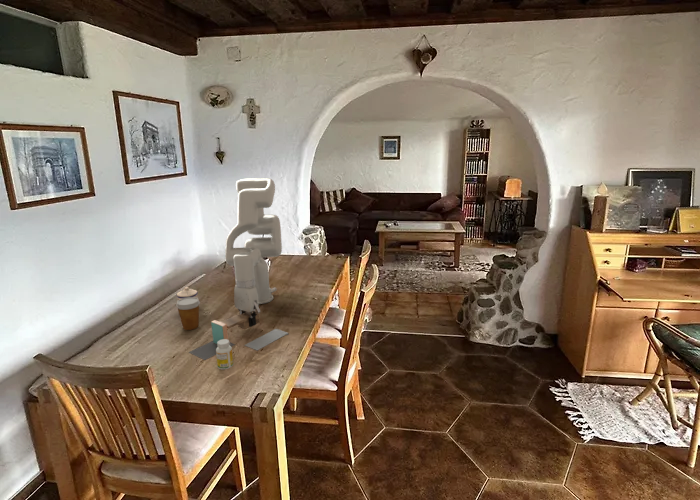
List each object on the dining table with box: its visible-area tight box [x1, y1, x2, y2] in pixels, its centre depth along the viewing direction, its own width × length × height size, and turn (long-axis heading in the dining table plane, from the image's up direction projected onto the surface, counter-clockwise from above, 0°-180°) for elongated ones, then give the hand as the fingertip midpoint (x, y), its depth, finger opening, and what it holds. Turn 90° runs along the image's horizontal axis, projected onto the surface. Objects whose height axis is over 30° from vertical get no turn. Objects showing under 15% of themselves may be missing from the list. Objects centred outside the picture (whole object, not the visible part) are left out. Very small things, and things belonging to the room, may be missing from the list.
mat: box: [188, 340, 236, 361], centre depth 157 cm, size 14×10×1 cm
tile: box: [210, 319, 229, 344], centre depth 159 cm, size 2×7×9 cm, turn 55°
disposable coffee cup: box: [175, 297, 201, 331], centre depth 175 cm, size 10×10×12 cm
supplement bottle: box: [215, 339, 234, 370], centre depth 144 cm, size 5×5×10 cm
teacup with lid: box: [176, 286, 199, 301], centre depth 192 cm, size 12×9×12 cm
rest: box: [244, 328, 289, 351], centre depth 164 cm, size 17×7×1 cm, turn 145°
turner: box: [220, 311, 260, 330], centre depth 167 cm, size 16×6×5 cm, turn 145°
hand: (248, 323), depth 171 cm, fingers closed on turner, 4 cm apart
